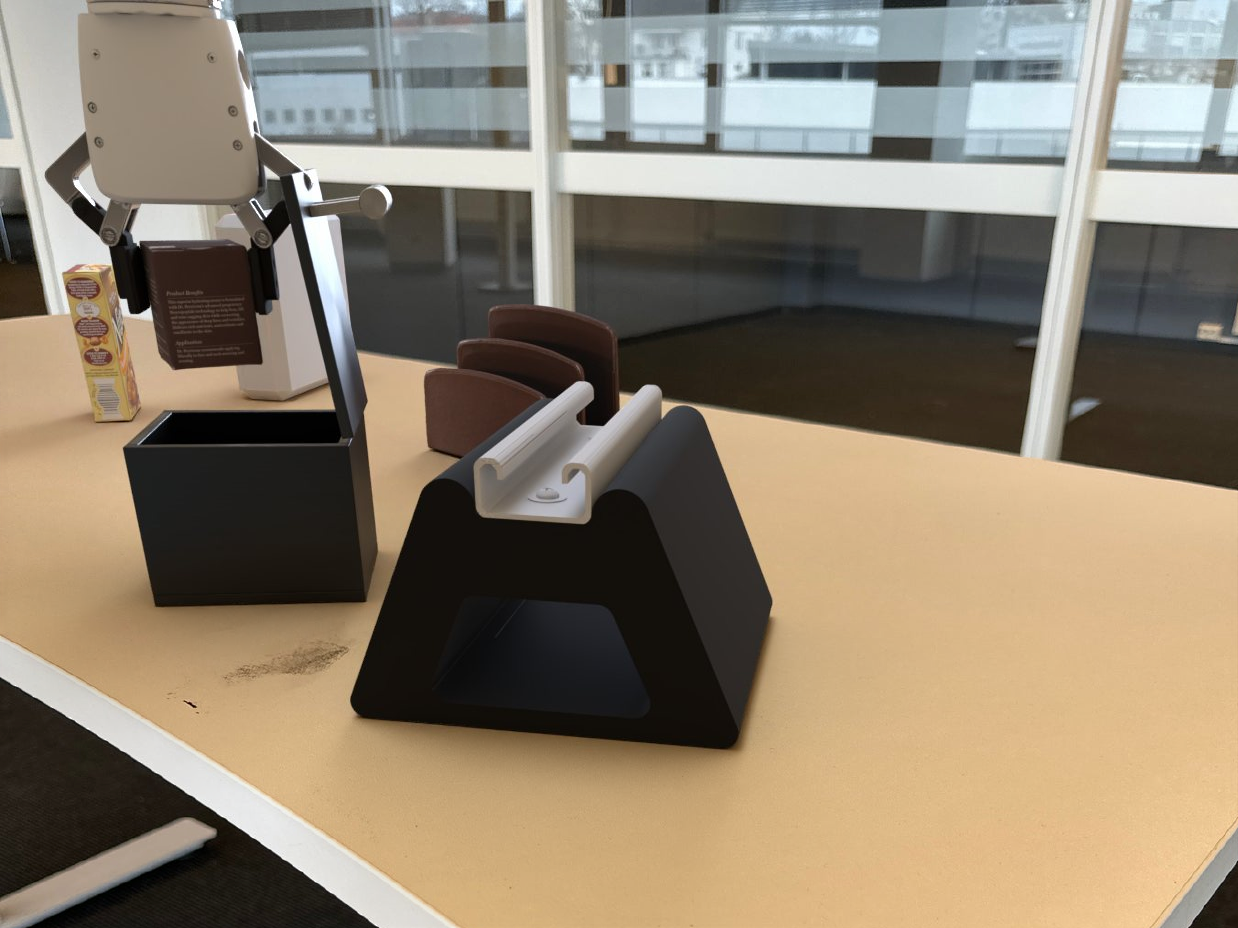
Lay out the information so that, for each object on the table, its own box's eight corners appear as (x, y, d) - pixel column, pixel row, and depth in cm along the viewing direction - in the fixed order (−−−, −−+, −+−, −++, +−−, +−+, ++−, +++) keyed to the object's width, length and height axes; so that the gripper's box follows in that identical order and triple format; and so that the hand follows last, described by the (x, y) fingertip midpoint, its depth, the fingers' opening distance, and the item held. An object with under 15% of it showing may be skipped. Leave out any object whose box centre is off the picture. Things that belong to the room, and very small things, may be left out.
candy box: (132, 421, 138) (102, 270, 130) (92, 422, 137) (60, 270, 129) (142, 406, 146) (114, 262, 138) (104, 407, 145) (74, 262, 137)
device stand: (771, 615, 87) (787, 391, 79) (737, 750, 68) (753, 473, 60) (466, 593, 90) (451, 374, 82) (351, 716, 71) (318, 447, 63)
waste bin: (154, 606, 86) (122, 447, 80) (190, 553, 97) (163, 409, 91) (366, 601, 88) (348, 445, 82) (378, 550, 98) (363, 408, 93)
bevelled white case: (304, 371, 168) (283, 205, 158) (359, 374, 167) (341, 207, 156) (228, 398, 151) (199, 214, 140) (289, 402, 149) (264, 216, 139)
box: (247, 353, 88) (231, 238, 84) (265, 366, 83) (248, 245, 79) (158, 357, 85) (136, 239, 81) (171, 372, 81) (149, 247, 77)
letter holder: (500, 436, 135) (493, 295, 128) (623, 468, 124) (623, 316, 116) (425, 449, 129) (414, 302, 122) (547, 484, 118) (542, 324, 110)
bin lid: (278, 175, 74) (374, 163, 74) (303, 169, 84) (387, 158, 85) (342, 439, 82) (428, 427, 82) (357, 403, 92) (433, 392, 93)
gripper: (307, -1, 77) (340, 306, 87) (18, -11, 75) (83, 304, 85) (292, -12, 71) (329, 320, 80) (-25, -24, 69) (51, 318, 78)
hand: (202, 310), depth 82 cm, fingers closed on box, 7 cm apart
